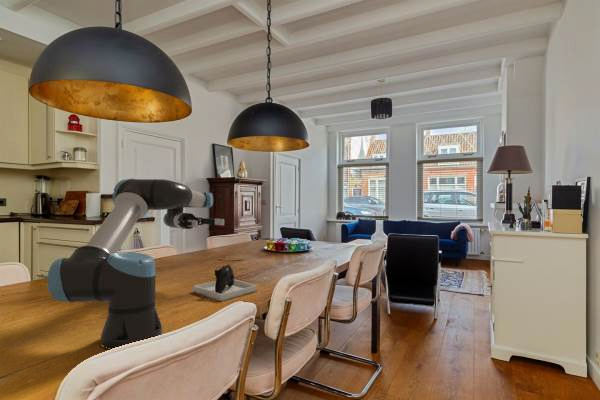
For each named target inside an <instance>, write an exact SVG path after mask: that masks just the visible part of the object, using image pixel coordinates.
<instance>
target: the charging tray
mask: <svg viewBox="0 0 600 400" xmlns="http://www.w3.org/2000/svg"><path fill="white" fill-rule="evenodd" d="M215 285H216V280H214V281H210V282H205V283H200V284H195V285H193V288H192V289H193V290H192V291H193V293H196V294H199V295H201V296H204V297H207V298H210V299H213V300H216V301H218V302H224V301H227V300H231V299H234V298H239V297H242V296H245V295H250V294H253V293H257V292H258V285H257V284H253V283H249V282H247V281H241V280H238V279H235V278H234V284H233V285H232V286H231V287H229V286H226V287H225V289H224V290H223V292H222V293H221V294H219V293H216V292H215Z"/></svg>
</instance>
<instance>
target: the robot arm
mask: <svg viewBox="0 0 600 400" xmlns="http://www.w3.org/2000/svg"><path fill="white" fill-rule="evenodd" d="M112 202H113V205H114V207H113V208H112V210H111V211H110V212H109V213H108V215H107V217H106V218H105V219H104V221H103V222H102V223H101V224H100V226H99V227H98V229H97V230H96V231H95V233H94V234H93V235H92V236H91V238H90V239H89V241H88V242H87V244H85V245H81V246H79V247H77V248H76V249H75V250H74V251H73V252H72V254H71V255H70V256H69V257H61V258H58V259H56V260H54V261H53V262H52V264H51V265H50V267H49V269H48V272H47V276H46V277H47V278H46V282H47V283H46V284H47V289H48V292H49V293H48V294H50V296H51V297H52V299H54V300H55V301H57V302H67V303H76V302H78V303H80V302H81V303H85V302H86V303H87V302H89V303H90V302H91V303H93V302H94V303H96V302H107V303H108V305H107V306H108V307H107V308H108V313H107V317H106V320H105V322H104V326H103V329H102V332H101V334H100V345H101V344H102V345H103V346H104V347H107V348H110V349H112V348H115V347H119V346H122V345H125V344H129V343H132V342H136V341H140V340H144V339H148V338H151V337H155V336H158V335H161V334H163V325H162V322H161V319H160V317H159V314H158V312H157V309H156V275H157V270H156V265H155V264H156V262H155V259H154V258H153V257H152V256H151V255H148V254H145V253H140V252H139V253H138V252H131V251H129V252H123V251H120V250H121V248H122V246H123V244H124V243H125V241H126V239H127V238H128V236H129V235H130V234H131V232H132V229H133V228H134V226H135V225H136V223H137V221H138V220H139V219H141V218H143V217H145V216H146V215H147V214H148V212H149V211H161V210H163V211H164V210H166V213H165V214H164V216H163V223H164V225H166V226H167V227H168V228H169V227H170V228H175V229H181V230H191V229H193V228H198V226H203V225H215V226H225V219H224V218H218V217H215V218H210V217H209V218H207V217H197V216H195V215H194V214H193V213H191V212H190V213H189V212H184V208H198V209H199V208H201V209H202V208H205V209H207V208H211V207H213V205H214V196H213V193H212V192H207V191H205V192H201V191H199V190H194V189H191V188H190V187H189V186H188V185H186V184H184V183H180V182H178V181H173V180H169V179H162V178H161V179H157V178H155V179H154V178H153V179H152V178H151V179H149V178H145V179H144V178H143V179H142V178H141V179H140V178H139V179H138V178H127V179H122V180H120V181H118V183H116V184H115V186H114V189H113V192H112ZM119 251H120V252H119ZM161 336H162V335H161Z"/></svg>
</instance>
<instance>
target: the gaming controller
mask: <svg viewBox="0 0 600 400" xmlns="http://www.w3.org/2000/svg"><path fill="white" fill-rule="evenodd" d="M214 276H215V277H216V278H215V281H216V285H215V292H216V293H219V294H221V293H222V292H223V290H224V289H225V287H226V286H229V287H231V286H232V285H233V284H234V279H235V274H234V272H233V269H232V266H231V265H230V264H227V265H223V266H222V267H220V268H219V269H215V270H214Z"/></svg>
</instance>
